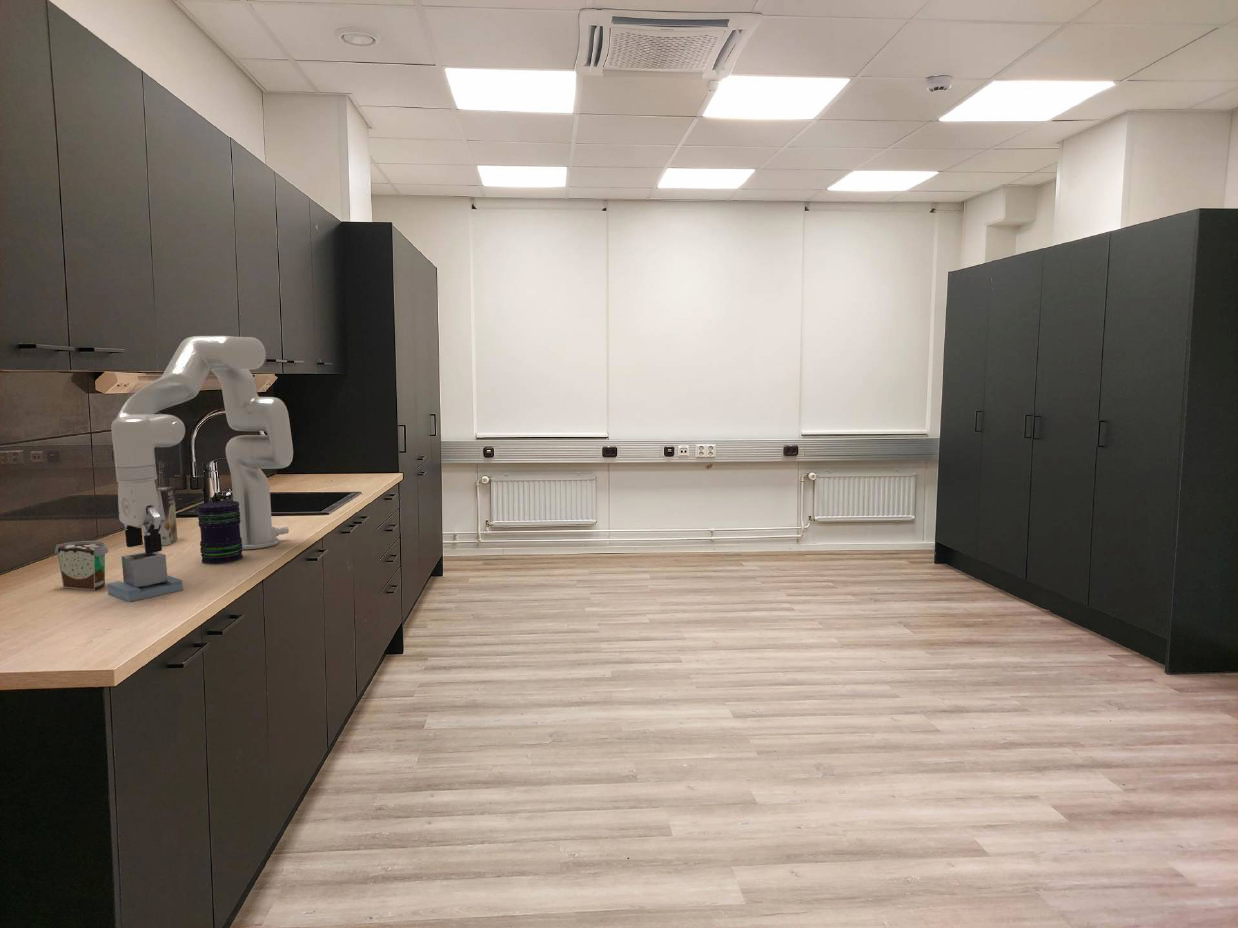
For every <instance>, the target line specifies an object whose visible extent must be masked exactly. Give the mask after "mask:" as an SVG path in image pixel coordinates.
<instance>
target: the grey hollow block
mask: <svg viewBox="0 0 1238 928" xmlns="http://www.w3.org/2000/svg"><path fill="white" fill-rule="evenodd" d="M121 567H122V576H123V577H122V578H123V583H126V584H128V585H130V586H133V587H140V586H145V585H150V584H155V583H160V582H165V581H168V578H167V575H168V571H167V570H168V569H167V567H168V566H167V555H166V554H164V553H161V552H160V551H159V552H154V553H149V554H147V553H145V551H144V552H139V553H134V554H133V553H132V554H127V555H122V556H121Z"/></svg>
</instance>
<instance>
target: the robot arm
mask: <svg viewBox="0 0 1238 928" xmlns="http://www.w3.org/2000/svg"><path fill="white" fill-rule="evenodd" d="M266 354H267V353H266V348H265V346H264V344H263V343H262V341H261V340H259V339H258V338H257V337H253V336H252V337H251V336H248V337H247V336H230V335H195V336H189V337H186V338H185V339H183V340H182V341H181V342H180V344H179V346H178V347H177V349H176V350H175V352H174V354H173V356H172V358H171V359H170V360H169V363H168V364H167V366H166V368H165V370H164V372H163V374H162V375H161V376H160V377H159V378H157V379H155V380H154V381H152V382H150V383H149V384H147V385H145V386H144V387H142V388H141V389H139V390H138V391H136V392H135V393H134V394H132V395H131V396H129V398H127V400H126V401H125V403H124V404H123V405H122V407H121V409H120V411H118V414H117V416H116V418H115V419H114V420H113V421H112V422H111V425H110V426H111V427H110V429H111V438H112V439H111V440H112V446H113V448H112V449H113V457H114V458H113V459H114V465H115V476H116V482H117V483H118V484H117V485H118V486H117V505H118V519H119V521H120V522H121V523H122V524H123V529H124V532H125V543H126V547H127V548H132V547H133V548H134V547H138V546H143V545H144V552H145V553H147V554H149V553H154V552H159V553H160V552H162V550H163V546H162V544H161V530H160V528H161V524H160V522H161V517H160V513H159V504H158V497H157V491H156V488H157V487H156V483H155V482H156V480H157V479H158V475H157V466H156V457H155V456H156V455H155V448H170V447H174V446H176V445H178V444H179V443H181V442H182V440H183V439H184V437H185V435H186V426H185V424H184V422H183V421H182V420H181V419H180V418H179V417H178V416H176V415H172V414H166V413H165V414H164V413H163V414H162V413H159V414H156V413H158V412H160V411H162V410H165V409H168V408H170V407H174V406H177V405H179V404H183V403H185V402H188V401H190V400H192V399H194V398H196V397H197V396H198V394H199V393H200V390H201V388H202V387H203V385H204V383H205V380H206V379H207V378H208V375H209V373H210V372H211V373H213V374H214V376H216V378H217V380H218V381H219V384H220V387H221V388H220V389H221V391H222V397H223V398H222V399H223V404H224V405H223V406H224V410H225V417H226V421H227V424H228V427H229V428H231V429H232V430H234V431H237V432H238V431H239V432H265V433H267V435H265V434H263V435H262V434H244V435H243V434H242V435H236V436H234V437H232V438H230V439H229V440H228V442H227V443H226V446H225V456H226V457H225V458H226V460H227V464H228V468H229V472H230V477H231V478H230V480H231V487H232V488H231V489H232V490H231V491H232V501H237V502H239V509H240V511H239V512H240V520H241V521H240V522H241V523H240V537H241V538H242V546H243V548H242V549H241V550H256V549H263V548H265V549H266V548H269V547H273V546H276V545H278V544H279V542H280V540H279V538H278V537H279V536H280V535H286V534H289V532H290V531H289V530H290V529H289V528H288V527H287V526H285V527H281V528H279V527H275V526H273V523H272V508H271V507H272V506H271V492H270V491H271V490H270V489H271V488H270V487H271V486H270V482H269V480H268V477H267V476H266V475H265V473H264V471H263V470H265V469H266V470H267V469H268V470H270V469H271V470H272V469H275V470H277V469H284V468H287V467H289V466H290V465H291V464H292V462H293V457H294V448H293V447H294V446H293V445H294V444H293V439H292V437H293V436H292V432H291V424H290V417H289V411H288V409H287V406H286V405H285V402H283V400H282V399H280V398H278V397H274V396H259V394H258V392H257V391H258V390H257V387H256V382H255V377H254V376H253V374H252V373H251V371H250V370H257V369H260V368H261V367H262V366H263V365H264V363H265V361H266V356H267V355H266ZM140 526H141V527H140ZM147 526H150V527H149V529H148V527H147ZM142 531H143V532H142ZM144 532H145V535H146V536H145V535H143V533H144Z"/></svg>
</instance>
